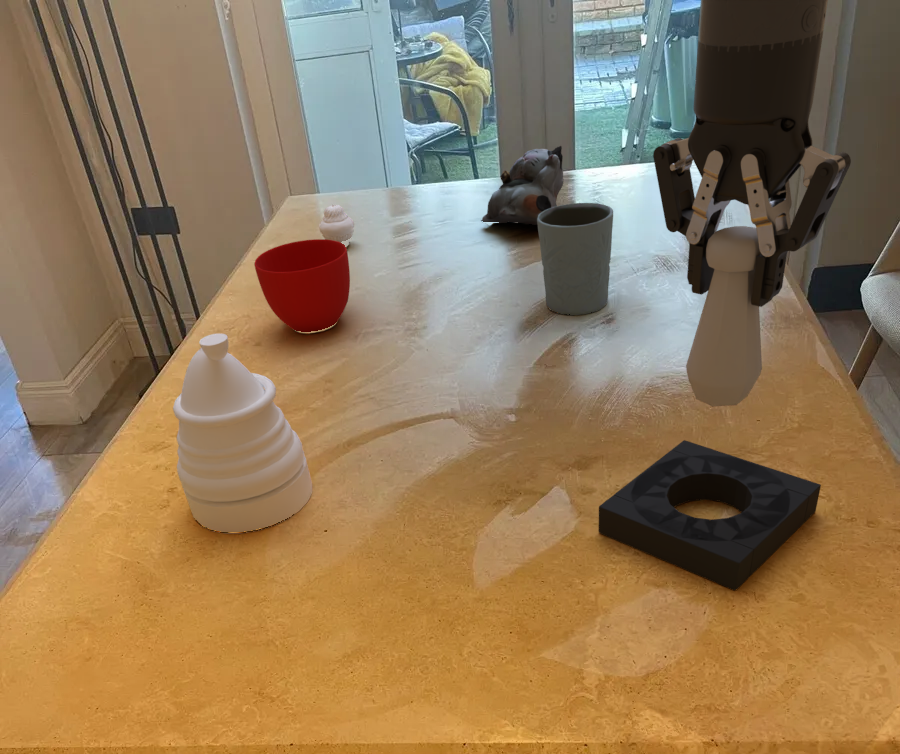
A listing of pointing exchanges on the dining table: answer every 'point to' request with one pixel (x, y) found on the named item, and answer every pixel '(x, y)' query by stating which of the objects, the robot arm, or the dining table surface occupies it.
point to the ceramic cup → (306, 282)
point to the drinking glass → (576, 256)
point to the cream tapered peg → (728, 322)
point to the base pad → (703, 540)
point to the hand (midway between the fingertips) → (731, 295)
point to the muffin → (336, 224)
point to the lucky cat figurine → (527, 188)
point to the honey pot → (236, 445)
